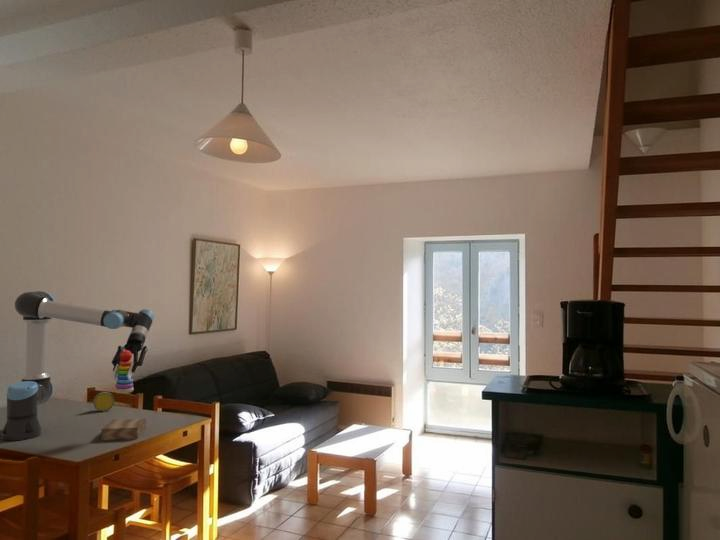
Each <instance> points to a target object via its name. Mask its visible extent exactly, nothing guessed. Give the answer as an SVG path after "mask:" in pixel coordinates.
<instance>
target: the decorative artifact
mask: <svg viewBox="0 0 720 540" xmlns="http://www.w3.org/2000/svg"><path fill="white" fill-rule="evenodd" d="M92 402H93V403H92V404H93V406H94V409H95V410H96V411H98V412H100V411H105V412H108V411H110V410H111V409H112V408H113V406H114V405H115V398H114V396H113V394H111V393H110V392H108V391H102V392H100V393H98V394H96V395H95V396H94V398H93V401H92Z"/></svg>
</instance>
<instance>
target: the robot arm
mask: <svg viewBox="0 0 720 540" xmlns="http://www.w3.org/2000/svg"><path fill="white" fill-rule="evenodd" d="M14 309H15V311H16V313H18V314H19V315H21V316H22V320H23V322H24V323H25V324H26V344H25V345H26V347H25V373H24V375H23V376H22V377H21V381H19V382H15V383H12V384H10V385H9V386H8V387H7V392H6V421H5V424H4V426H3V429H2V431H1V440H3V441H8V440H9V442H10V441H23V440H28V439H29V440H30V439H33V438H36V437H38V436H40V435H42V431H43V430H42V425H41V423H40V420H39V417H38V406H40V405H43V404H45V403H46V402H47V401H49V399H50V398H51V397H52V396H53V394H54V388H55V387H54V384H53V383H52V381H51V375H50V374H49V373H48V333H49V332H48V331H49V329H48V326H49V322H51V320H52V319H57V320H63V321H68V322H69V321H70V322H75V323H81V324H86V325H87V324H88V325H93V326H100V327H103V328H107V329H110V330H116V329H119V328H121V327H126V328H131V331H130V333H129V335H128V338H127V339H126V343H125V345H123V346H121V345H118V346H117V351H116V353H115V355H114V357H113V358H112V360H111V364H112V366H113V368H112V374H111V378H112V379H113V380H117V375H118V371H119V366H121V365H120V361H122V360H121V359H120V353H121V352H122V351H124V350H128V351H130V352H131V353H132V355H133V362H132V363H131V366H130V369H129V371H128V374H127V378H128V379H129V380H130V379H131V376H132V375H133V373H135V372H136V370H137V368H138V367H143V364H144V360H145V357H146V353H147V352H148V351H149V349H148V347H147V345H144V344H145V342H146V339H147V336H148V334H149V331H150V329H151V326H152V325H153V322H154V318H155V313H153V311H152V310H150V309H147V308H145V309H141V310H139V312H132V311H127V310H122V309H114V308H113V309H112V310H105V309H101V308H94V307H89V306H83V305H77V304H70V303H66V302H60V301H56V300H55V299H54V297H53V295H52V294H50V293H48V292H46V291H38V290H37V291H27V292H23V293H21V294H19V295H18V296H17V297H16V299H15V301H14ZM140 351H141V352H140ZM139 352H140V354H139Z"/></svg>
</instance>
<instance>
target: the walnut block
mask: <svg viewBox="0 0 720 540" xmlns="http://www.w3.org/2000/svg"><path fill="white" fill-rule="evenodd" d="M146 430H147V418H135V419H134V418H132V419H127V418H126V419H112V420H110V421H109V422H108V423H107V424H105V425H104V426H103V427H102V428H101V430H100V431H101V432H100V433H101V436H100V437H101V438H100V439H101V441H109V440H108V439H124V440H138V439H139V438H138V437H139V436H140V437H141V436H142V435H143V433H144V432H145V431H146ZM105 439H107V440H105Z"/></svg>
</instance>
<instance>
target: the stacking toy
mask: <svg viewBox="0 0 720 540" xmlns="http://www.w3.org/2000/svg"><path fill="white" fill-rule="evenodd" d="M132 358H133V354H132V353H131V352H130V351H128V350H125V349H124V350H123V351H122V352H121V353H120V359H121V360H122V361H120V366H119V371H118V375H117V377H116V381H115V382H116V383H115V388H114V392H116V393H118V394H128V393H132V392H134V390H135V389H134V383H133V382H134V378H133V377H134V375H133V374H132V376H131V379H130V380H129V379H128V378H127V374H128V371H129V369H130V366H131V364H133V362H132V361H131V359H132Z"/></svg>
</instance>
